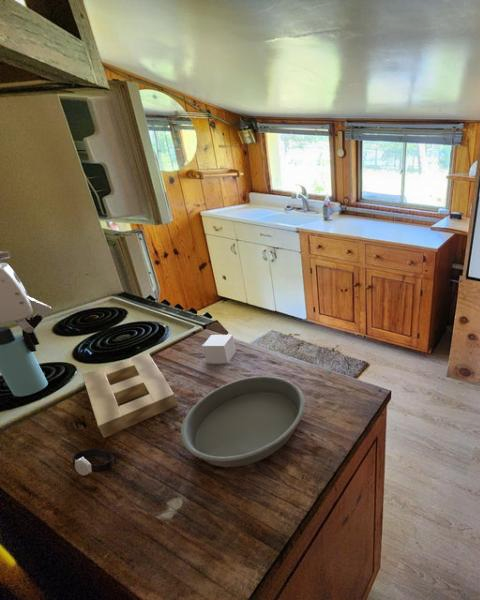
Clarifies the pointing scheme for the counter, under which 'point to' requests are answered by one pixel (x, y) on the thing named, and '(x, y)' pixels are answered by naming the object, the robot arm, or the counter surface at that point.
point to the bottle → (19, 365)
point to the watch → (85, 467)
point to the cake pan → (243, 421)
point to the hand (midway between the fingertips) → (12, 353)
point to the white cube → (219, 348)
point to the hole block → (127, 393)
